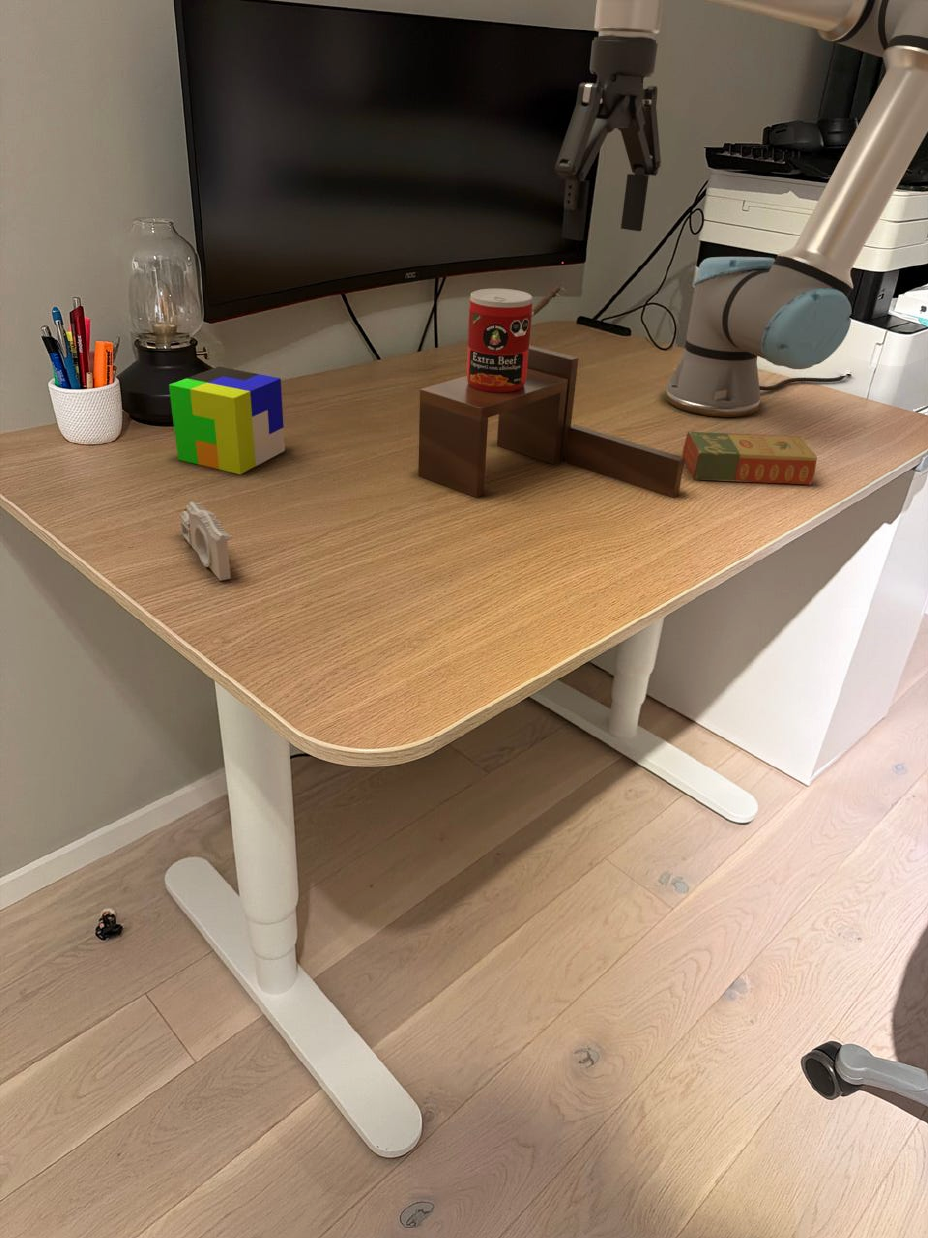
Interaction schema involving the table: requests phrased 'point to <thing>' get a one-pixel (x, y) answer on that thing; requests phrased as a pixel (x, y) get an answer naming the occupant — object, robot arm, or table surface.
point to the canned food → (498, 339)
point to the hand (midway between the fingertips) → (602, 234)
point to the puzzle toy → (228, 419)
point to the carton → (749, 458)
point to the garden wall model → (207, 539)
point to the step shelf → (528, 431)
